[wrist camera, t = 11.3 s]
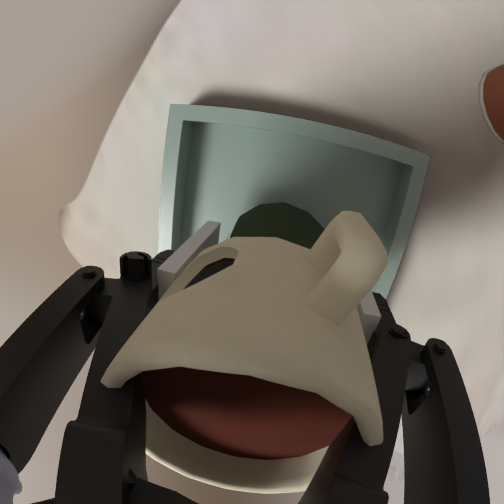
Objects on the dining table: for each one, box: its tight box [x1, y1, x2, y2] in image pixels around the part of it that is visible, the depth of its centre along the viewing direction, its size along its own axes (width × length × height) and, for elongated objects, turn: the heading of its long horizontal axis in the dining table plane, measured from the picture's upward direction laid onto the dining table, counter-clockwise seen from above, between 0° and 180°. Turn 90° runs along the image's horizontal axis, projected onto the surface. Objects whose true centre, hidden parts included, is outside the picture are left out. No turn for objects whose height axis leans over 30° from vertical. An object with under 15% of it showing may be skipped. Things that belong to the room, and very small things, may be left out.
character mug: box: [101, 202, 388, 494], centre depth 11 cm, size 11×7×13 cm, turn 150°
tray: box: [158, 104, 430, 299], centre depth 19 cm, size 16×16×2 cm
